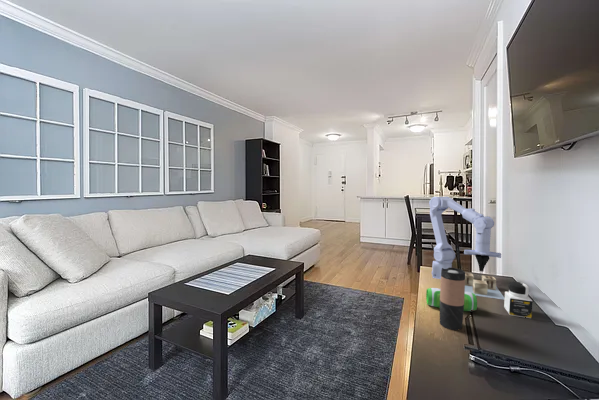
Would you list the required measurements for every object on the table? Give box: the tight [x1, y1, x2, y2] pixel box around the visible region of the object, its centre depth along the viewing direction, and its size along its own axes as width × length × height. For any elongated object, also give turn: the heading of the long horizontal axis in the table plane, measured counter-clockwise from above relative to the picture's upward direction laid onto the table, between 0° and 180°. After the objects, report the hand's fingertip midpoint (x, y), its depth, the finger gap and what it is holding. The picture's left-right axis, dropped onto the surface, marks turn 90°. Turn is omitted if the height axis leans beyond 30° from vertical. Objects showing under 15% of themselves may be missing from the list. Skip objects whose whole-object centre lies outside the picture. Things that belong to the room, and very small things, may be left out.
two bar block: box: [481, 275, 497, 290], centre depth 137 cm, size 5×5×5 cm
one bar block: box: [465, 272, 475, 286], centre depth 142 cm, size 5×5×5 cm
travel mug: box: [439, 267, 466, 331], centre depth 101 cm, size 8×8×20 cm
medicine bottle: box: [503, 281, 533, 319], centre depth 111 cm, size 7×7×12 cm
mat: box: [465, 286, 505, 300], centre depth 135 cm, size 16×20×1 cm
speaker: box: [425, 287, 478, 312], centre depth 115 cm, size 18×7×8 cm, turn 73°
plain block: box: [473, 278, 488, 295], centre depth 131 cm, size 5×5×5 cm
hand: (481, 270), depth 133 cm, fingers closed
